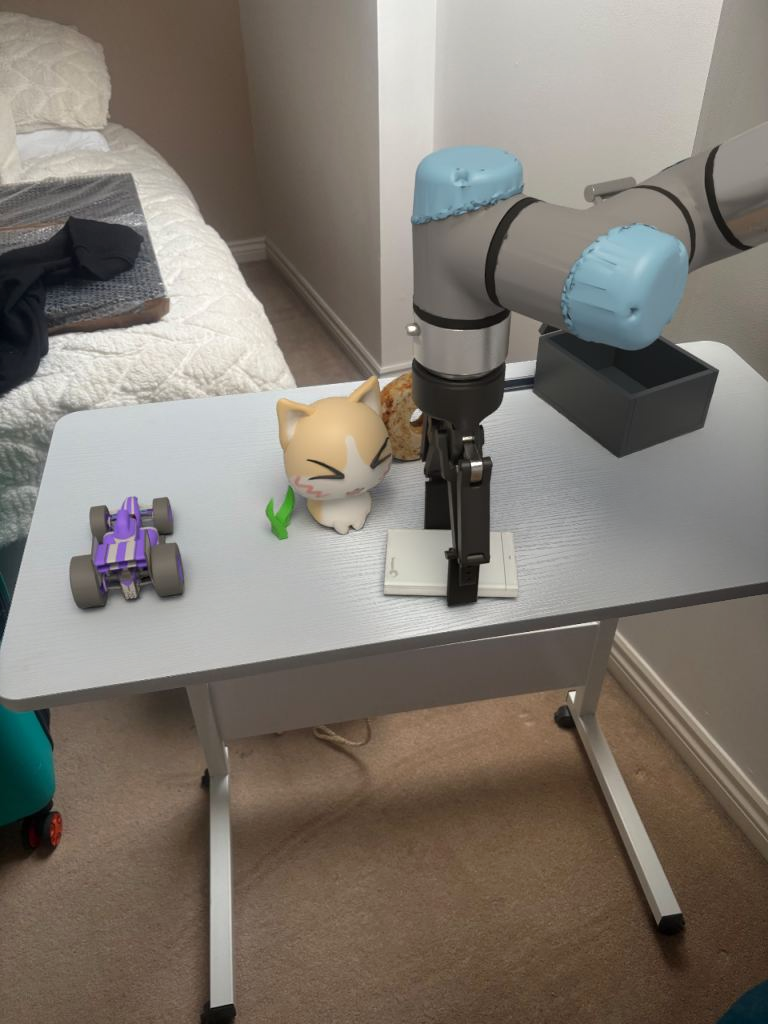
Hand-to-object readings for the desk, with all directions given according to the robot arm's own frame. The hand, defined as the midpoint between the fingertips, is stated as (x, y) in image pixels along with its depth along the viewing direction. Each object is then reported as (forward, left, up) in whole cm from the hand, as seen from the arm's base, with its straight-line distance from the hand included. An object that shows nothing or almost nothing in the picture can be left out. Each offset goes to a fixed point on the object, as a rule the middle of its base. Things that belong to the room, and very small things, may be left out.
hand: (449, 565), depth 80 cm
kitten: (+14, 0, -1) cm, 14 cm away
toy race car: (+26, +17, -1) cm, 31 cm away
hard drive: (0, 0, 0) cm, 1 cm away
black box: (0, -37, -1) cm, 37 cm away
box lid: (+4, -38, +15) cm, 41 cm away
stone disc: (+14, -14, -1) cm, 20 cm away
